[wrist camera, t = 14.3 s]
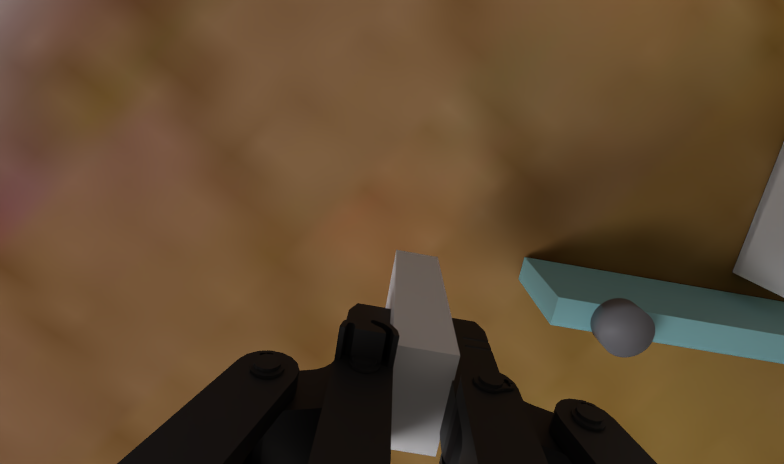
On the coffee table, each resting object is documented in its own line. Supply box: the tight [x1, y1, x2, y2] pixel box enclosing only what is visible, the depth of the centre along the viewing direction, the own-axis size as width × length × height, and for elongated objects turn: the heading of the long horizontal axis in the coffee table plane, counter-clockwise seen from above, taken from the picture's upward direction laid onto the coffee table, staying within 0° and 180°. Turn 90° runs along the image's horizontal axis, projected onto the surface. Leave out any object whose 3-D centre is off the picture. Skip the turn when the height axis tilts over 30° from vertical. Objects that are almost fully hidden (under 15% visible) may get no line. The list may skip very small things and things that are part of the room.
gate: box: [519, 257, 784, 364], centre depth 20 cm, size 18×2×6 cm, turn 80°
